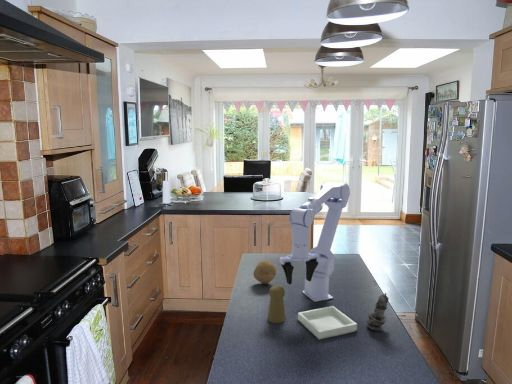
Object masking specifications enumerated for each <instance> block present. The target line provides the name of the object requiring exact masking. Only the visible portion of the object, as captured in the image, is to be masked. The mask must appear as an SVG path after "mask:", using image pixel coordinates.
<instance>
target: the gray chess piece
mask: <svg viewBox="0 0 512 384" xmlns="http://www.w3.org/2000/svg"><path fill="white" fill-rule="evenodd" d="M389 299H390V298H389V296H388V295H387V292H385V293H384V294H380V295H379V297H378V299H377V302H375V307H374V309H373V310H370V311H368V313H367V314H368V317H367V318H368V320H366V321H365V325H366V326H367V327H368V328H369V329H371V330H373V331H375V332H382V331H383V325H385V323H386V322H388V318H387V317H386V316H385V312H386V310H387V309H388V307H387V305H388V303H389Z"/></svg>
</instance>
